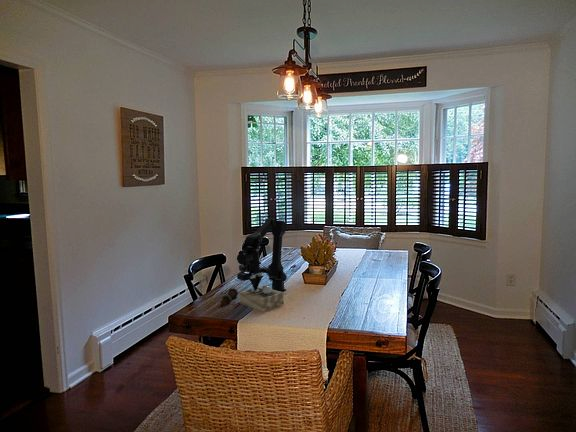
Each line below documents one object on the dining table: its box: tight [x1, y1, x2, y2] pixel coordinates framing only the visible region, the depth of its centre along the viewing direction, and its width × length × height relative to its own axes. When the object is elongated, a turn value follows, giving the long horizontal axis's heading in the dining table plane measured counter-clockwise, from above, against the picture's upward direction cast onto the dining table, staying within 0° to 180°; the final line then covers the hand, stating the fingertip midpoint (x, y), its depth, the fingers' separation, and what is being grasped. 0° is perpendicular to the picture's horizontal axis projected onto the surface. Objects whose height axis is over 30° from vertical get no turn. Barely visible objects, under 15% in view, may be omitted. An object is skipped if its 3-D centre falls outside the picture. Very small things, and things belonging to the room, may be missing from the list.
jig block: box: [238, 285, 285, 312], centre depth 213 cm, size 14×18×6 cm
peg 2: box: [262, 284, 272, 296], centre depth 209 cm, size 4×4×6 cm
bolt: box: [220, 287, 239, 306], centre depth 220 cm, size 6×5×15 cm
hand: (255, 289), depth 216 cm, fingers closed, pressing on peg 1
